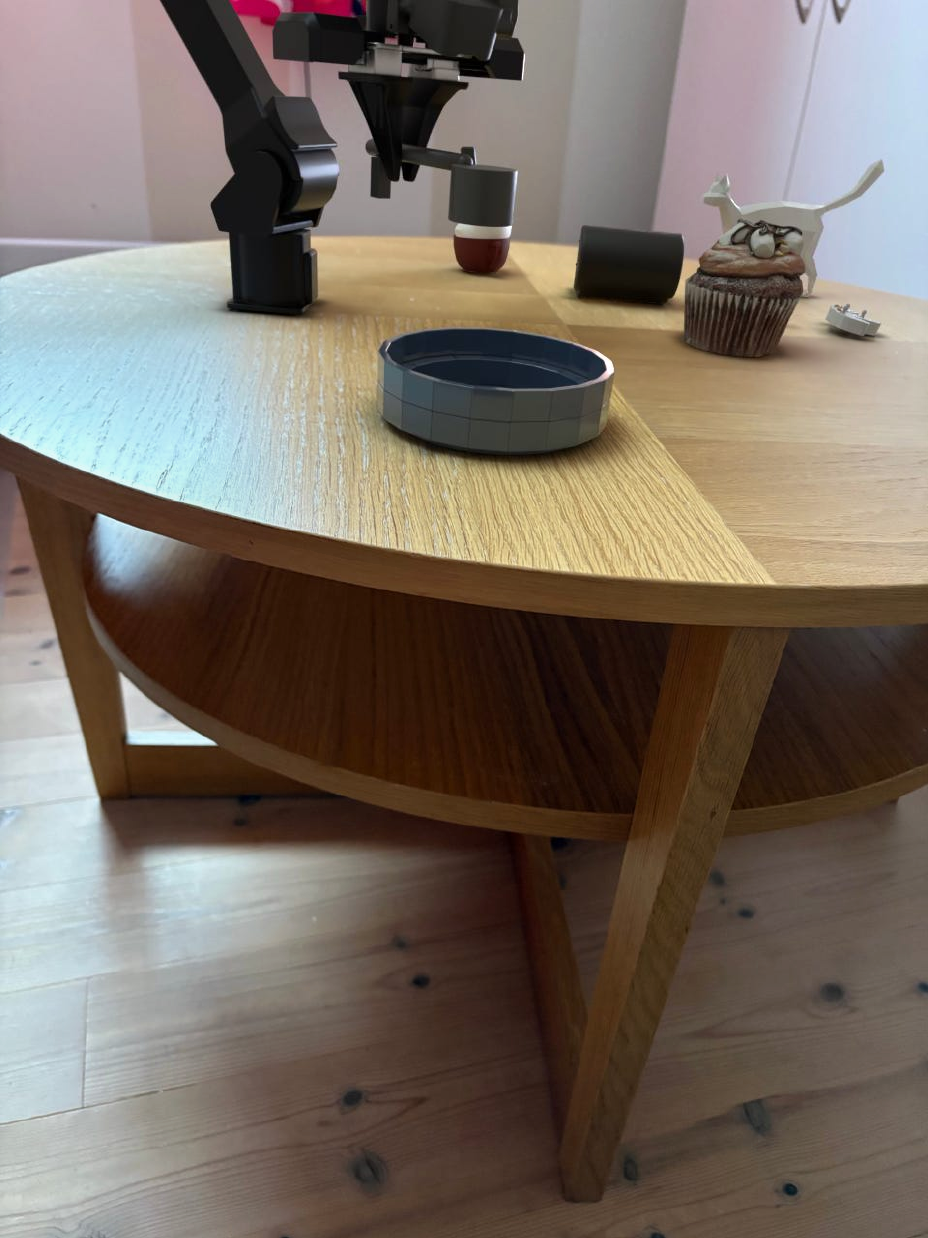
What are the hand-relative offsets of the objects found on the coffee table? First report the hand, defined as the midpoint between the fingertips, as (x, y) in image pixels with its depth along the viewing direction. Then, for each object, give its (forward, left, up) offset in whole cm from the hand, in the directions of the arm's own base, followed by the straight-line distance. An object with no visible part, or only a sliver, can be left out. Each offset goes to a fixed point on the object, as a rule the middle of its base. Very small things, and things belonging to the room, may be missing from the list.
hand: (401, 181), depth 69 cm
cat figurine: (+39, +31, -11) cm, 51 cm away
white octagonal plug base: (+39, +13, -11) cm, 42 cm away
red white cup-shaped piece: (+6, +29, -11) cm, 32 cm away
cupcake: (+29, +3, -11) cm, 31 cm away
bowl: (+9, -23, -11) cm, 26 cm away
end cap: (+21, +19, -11) cm, 31 cm away
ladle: (+2, -3, -1) cm, 4 cm away
